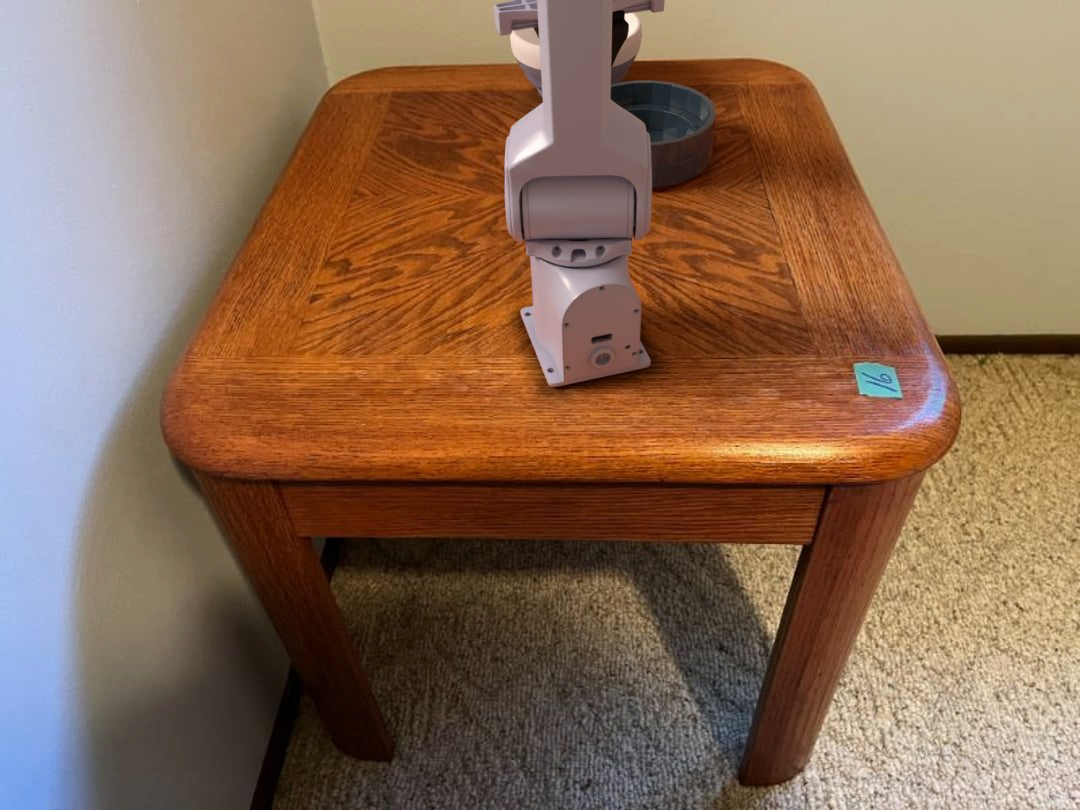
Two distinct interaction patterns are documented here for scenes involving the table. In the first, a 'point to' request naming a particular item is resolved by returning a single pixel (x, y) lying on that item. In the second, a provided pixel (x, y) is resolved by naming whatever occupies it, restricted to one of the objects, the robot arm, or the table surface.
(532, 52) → the bowl
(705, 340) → the table surface
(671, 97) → the dish
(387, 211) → the table surface
